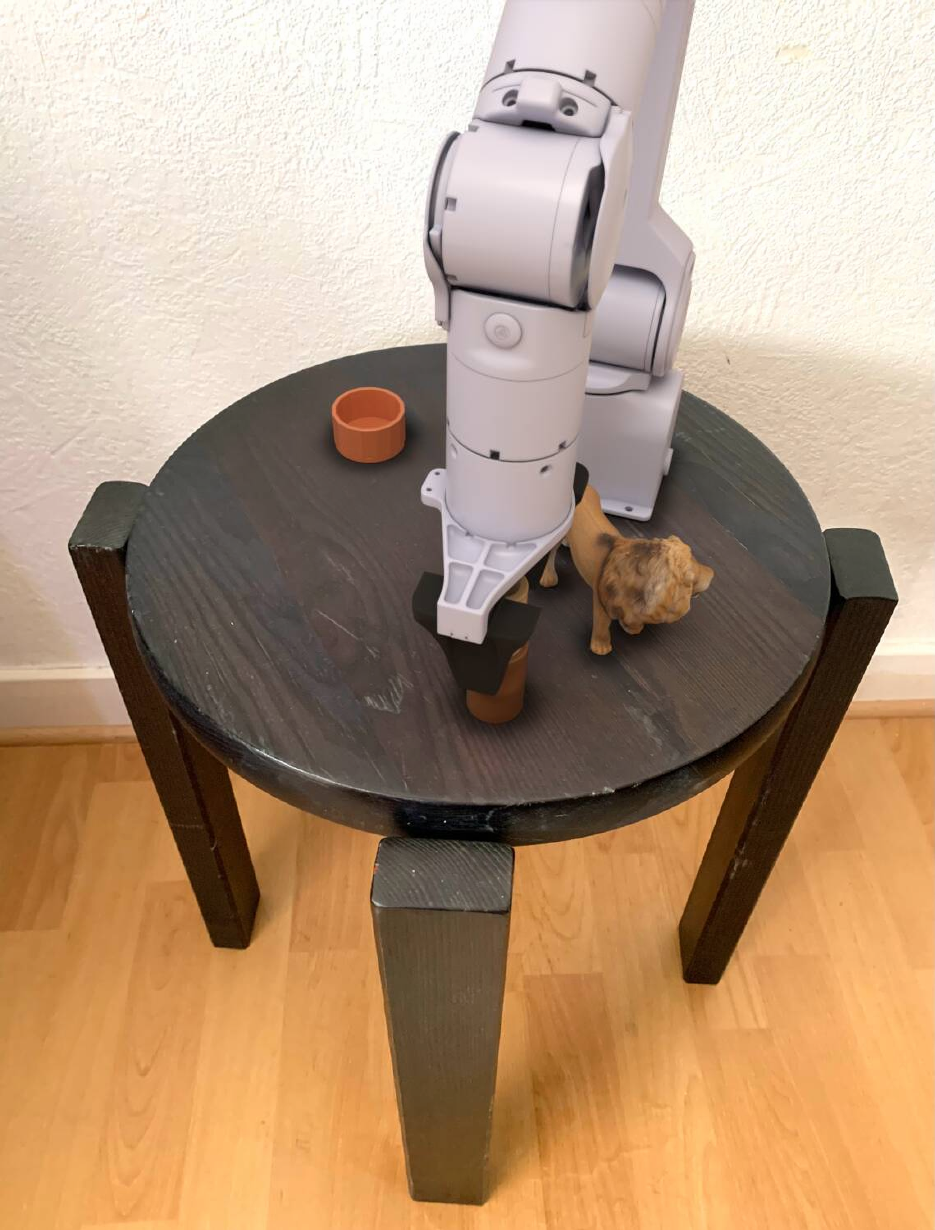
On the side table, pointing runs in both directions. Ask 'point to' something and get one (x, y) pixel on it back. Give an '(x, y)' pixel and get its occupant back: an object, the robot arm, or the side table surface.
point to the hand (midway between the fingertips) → (499, 631)
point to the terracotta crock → (369, 424)
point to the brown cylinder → (502, 693)
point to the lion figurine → (628, 573)
